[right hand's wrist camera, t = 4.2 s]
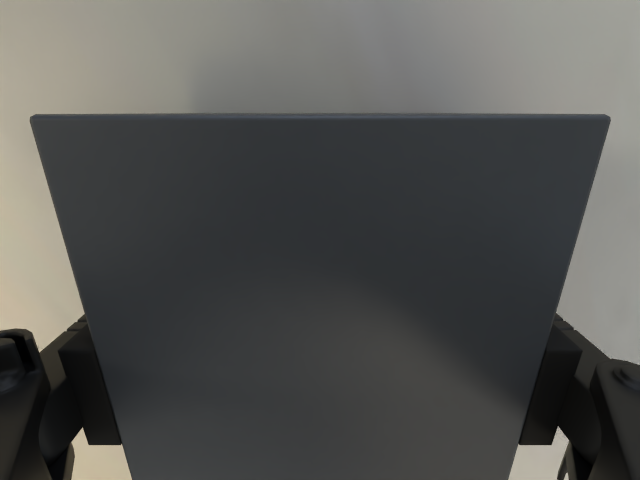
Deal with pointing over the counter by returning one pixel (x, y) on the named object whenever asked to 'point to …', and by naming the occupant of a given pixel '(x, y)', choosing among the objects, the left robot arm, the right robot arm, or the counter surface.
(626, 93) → the counter surface
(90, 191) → the wide beam
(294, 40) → the counter surface
